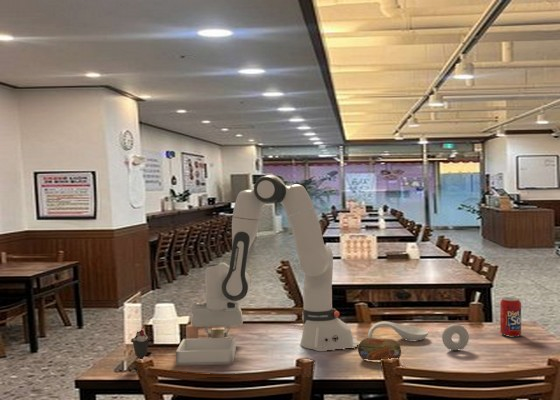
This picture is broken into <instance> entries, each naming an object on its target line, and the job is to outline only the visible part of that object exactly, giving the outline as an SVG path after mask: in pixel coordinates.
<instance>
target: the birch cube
mask: <svg viewBox="0 0 560 400" xmlns="http://www.w3.org/2000/svg"><path fill="white" fill-rule="evenodd" d="M210 332H211V337H210V338H226V337H224V332H226V327H212V328H211V329H210Z"/></svg>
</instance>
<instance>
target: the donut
mask: <svg viewBox="0 0 560 400" xmlns="http://www.w3.org/2000/svg"><path fill="white" fill-rule="evenodd" d="M454 334H457V335H459V337H458V340H456V341H453V340H452V336H453V335H454ZM441 335H442V336H441V340H442V344H443V345H444V347H446V348H447V349H448V350H450V349H451V350H450V351H452V350H458V349H462V350H463V349H464V348H465V347H466V346H467V345H468V343H469V340H470V336H469V335H470V334H469V332H468V331H467V329H466V328H465V326H464V325H461V324H457V323H453V324H450V325H448V326H446V328H444V330H443V332H442V334H441Z"/></svg>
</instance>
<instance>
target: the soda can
mask: <svg viewBox="0 0 560 400" xmlns="http://www.w3.org/2000/svg"><path fill="white" fill-rule="evenodd" d="M499 306H500V307H499V310H500V311H499V314H500V319H499V321H500V323H499V324H500V325H499V328H500V334H501V333H502V334H501V335H503V334H505V335H509V336H518V335H520V336H521V335H522V302H521V301H520V298H519V297H514V296H503V297H502V298H501V301H500V302H499ZM518 337H519V336H518Z"/></svg>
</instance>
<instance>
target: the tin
mask: <svg viewBox="0 0 560 400" xmlns="http://www.w3.org/2000/svg"><path fill="white" fill-rule="evenodd" d="M357 352H358V355H359V357H360V358H361V359H362V360H363V361H365V360H364V359H368V360H381V359H388V358H389V359H391V358H398V359H399V360H400V357H401V355H402V348H401V346H400V343H399V342H398V341H396V340H394V339H392V338H382V337H381V338H379V337H372V338H368V337H367V338H364V339H362V340H360V342H359V343H358V347H357Z"/></svg>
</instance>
